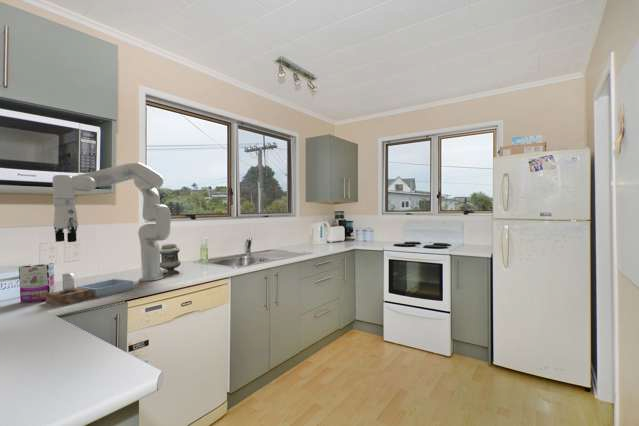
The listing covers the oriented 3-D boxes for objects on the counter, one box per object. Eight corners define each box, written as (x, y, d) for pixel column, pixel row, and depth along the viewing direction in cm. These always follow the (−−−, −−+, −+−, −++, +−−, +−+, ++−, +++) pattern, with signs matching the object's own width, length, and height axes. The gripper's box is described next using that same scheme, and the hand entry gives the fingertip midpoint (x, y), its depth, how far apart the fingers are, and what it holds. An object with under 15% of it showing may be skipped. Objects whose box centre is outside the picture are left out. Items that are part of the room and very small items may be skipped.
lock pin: (71, 299, 146) (70, 272, 146) (76, 299, 144) (75, 273, 144) (61, 301, 142) (60, 274, 142) (66, 302, 140) (65, 275, 140)
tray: (114, 286, 169) (114, 278, 169) (133, 288, 162) (133, 280, 162) (77, 294, 153) (77, 286, 153) (96, 298, 146) (96, 289, 146)
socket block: (76, 295, 151) (76, 287, 151) (91, 298, 146) (91, 289, 146) (45, 303, 140) (45, 293, 140) (60, 305, 135) (60, 296, 135)
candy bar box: (55, 297, 149) (54, 262, 149) (49, 300, 144) (48, 264, 144) (26, 300, 146) (25, 264, 146) (19, 303, 141) (18, 266, 141)
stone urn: (160, 272, 204) (158, 244, 204) (180, 270, 209) (179, 242, 209) (159, 275, 193) (158, 246, 193) (181, 273, 198) (180, 244, 198)
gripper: (84, 202, 142) (86, 241, 142) (63, 203, 150) (65, 240, 150) (65, 202, 135) (66, 243, 135) (44, 203, 143) (45, 242, 143)
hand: (66, 241), depth 143 cm, fingers open, 9 cm apart
